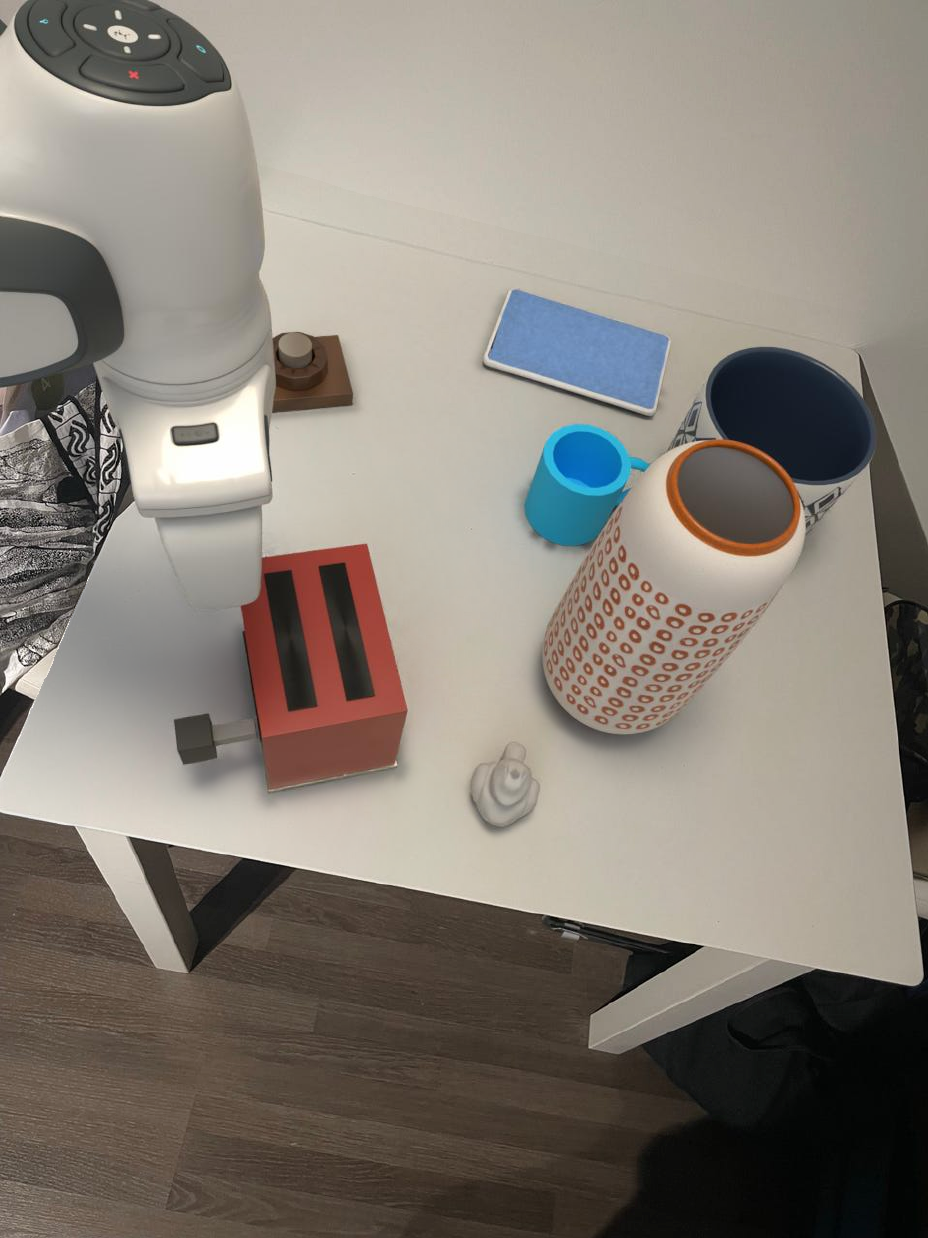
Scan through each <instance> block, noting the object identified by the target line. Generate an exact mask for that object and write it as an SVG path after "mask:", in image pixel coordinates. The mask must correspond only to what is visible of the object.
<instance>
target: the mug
mask: <svg viewBox="0 0 928 1238" xmlns="http://www.w3.org/2000/svg"><path fill="white" fill-rule="evenodd" d="M650 465H651V464H650V463H649V462H647V461H645V460H644V459H642V458H638V457H634V456H630V453H629V452H628V451H627V449H626V448H625V445H624V444H623V442H621V441H620V440H619V439H618V438H617V437H616V436H615V435H614V434H612V433H610V432H609V431H607V430H605V429H603V428H601V427H597V426H594V425H591V424H583V423H573V424H569V425H565V426H562V427H560V428H558V429H557V430H555V431H553V432H552V433H551V435H550V436H549V437H548V438H547V439H546V441H545V444H544V446H543V449H542V452H541V455H540V457H539V460H538V463H537V466H536V469H535V472H534V475H533V477H532V481H531V484H530V486H529V489H528V491H527V495H526V498H525V501H524V511H525V516H526V518H527V520H528V523H529V525H530V527H532V529H533V530H534V531H535V532H536V533H537V534H538V535H539V536H540V537H542V538H544V539H545V540H547V541H549V542H551V543H554V544H558V545H560V546H566V547H578V546H581V545H585V544H588V543H590V542H592V541H593V540H595V539H597V538H598V536H599V534H600V533H601V531H602V530H603V528H604V526H605V525H606V523H607V522H608V520H609V519H610V517H611V515H612V513H613V510H614V508H615V507H618V506H619V504H620V503H621V502H622V500H623V499H624V497H625V496H626V495H627V493H628V492H629V491H630V489H631V488H632V486H631V487H629V488H627V489H625V486H626V485H627V482H629V481H628V480H629V478H630V476H631V470H637V471H640V472H642V473H643V472H644V471H645V470H646V469H647V468H648V467H649V466H650ZM624 489H625V490H624Z"/></svg>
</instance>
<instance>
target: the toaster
mask: <svg viewBox="0 0 928 1238" xmlns="http://www.w3.org/2000/svg"><path fill="white" fill-rule="evenodd" d="M373 566H374V565H373V561H372V558H371V554H370V550H369V545H368V543H360V544H352V545H345V546H344V545H343V546H338V547H337V546H336V547H331V548H322V549H315V550H308V551H301V552H294V553H287V554H286V553H285V554H278V555H271V556H262V573H261V589H260V594H259V596H258V598H257V599H256V600H255V601H253V602H251V603H249V604H246V605H241V606H240V612H241V619H242V624H243V629H242V630H241V633H242V639H243V643H244V644H243V645H244V651H245V658H246V661H247V662H246V664H247V671H248V676H249V682H250V689H251V695H252V701H253V708H254V714H255V721H256V728H257V732H258V733H257V734H258V739H259V744H260V745H259V746H260V751H261V757H262V764H263V770H264V776H265V783H266V788H267V793H268V794H273V793H279V792H284V791H288V790H293V789H294V790H295V789H299V788H303V787H308V786H314V785H319V784H324V783H328V782H333V781H338V780H343V779H349V778H353V777H359V776H364V775H368V774H373V773H379V772H383V771H388V770H393V769H397V768H398V766H399V764H398V760H397V756H398V752H399V749H400V744H401V739H402V735H403V732H404V728H405V723H406V718H407V715H408V706H407V702H406V699H405V694H404V690H403V686H402V681H401V677H400V674H399V673H400V672H399V670H398V665H397V661H396V657H395V652H394V649H393V645H392V640H391V636H390V632H389V628H388V624H387V620H386V616H385V612H384V608H383V607H384V606H383V603H382V599H381V595H380V591H379V586H378V581H377V578H376V574H375V570H374V567H373Z"/></svg>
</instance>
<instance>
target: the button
mask: <svg viewBox="0 0 928 1238" xmlns="http://www.w3.org/2000/svg"><path fill="white" fill-rule="evenodd" d="M278 345H279V359H280V361H281V363H282V364H283V365H284V366H286V367H288V368H291V369H303V368H305V367H307V366H308V365H309V364H310V363H311V361H312V343H311V341H310V339H309V338H308V337H307V336H305V335H303V334H301V333H288V334H286V335H284V336H282V337H281V339H280V340H279V344H278Z"/></svg>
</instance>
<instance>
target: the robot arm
mask: <svg viewBox="0 0 928 1238" xmlns="http://www.w3.org/2000/svg"><path fill="white" fill-rule="evenodd" d="M11 18H12V19H10V22H9V23H8V25H7V24H6V23H5V22H4V21H3V20H2V19H1V18H0V389H1V388H8V387H13V386H18V385H19V386H20V385H23V384H27V383H31V382H34V381H37V380H41V379H45V378H49V377H52V376H56V375H60V374H62V373H63V374H64V373H66V372H70V371H73V370H77V369H79V368H83V367H86V366H89V365H92V364H93V367H94V370H95V373H96V376H97V380H98V383H99V386H100V389H101V393H102V395H103V398H104V401H105V403H106V406H107V409H108V411H109V412H108V413H109V415H110V417H111V419H112V421H113V423H114V425H115V428H116V429H117V431H118V434H119V436H120V440H121V444H122V448H123V453H124V460H125V464H126V469H127V475H128V479H129V480H128V481H129V484H130V487H131V490H132V495H133V499H134V500H133V501H134V503H135V505H136V509H137V511H138V513H139V514H140V515H141V517H143V518H147V519H149V518H150V519H154V521H155V525H156V527H157V532H158V534H159V537H160V540H161V544H162V546H163V548H164V551H165V554H166V556H167V559H168V561H169V563H170V566H171V568H172V571H173V573H174V575H175V577H176V580H177V582H178V585H179V586H180V588H181V591H182V592H183V595H184V597H185V599H186V601H187V602H188V603H189V605H190V606H191V607H193V608H194V609H196V610H200V611H212V610H213V611H214V610H223V609H231V608H236V607H241V605H246V604H249V603H251V602H253V601H255V600H256V599H257V598H258V596H259V594H260V589H261V573H262V558H263V505H268V504H270V503H271V502H272V500H273V498H274V495H273V493H274V492H273V485H272V482H273V473H272V472H273V471H272V464H271V455H270V442H271V440H270V427H271V421H272V416H273V412H272V410H273V399H274V394H275V388H276V376H275V362H274V349H273V338H274V337H273V327H272V326H273V325H272V312H271V305H270V304H271V303H270V300H269V297H268V294H267V291H266V289H265V287H264V284H263V282H262V279H261V277H260V271H261V268H262V265H263V262H264V256H265V250H266V235H265V222H264V221H265V220H264V210H263V199H262V191H261V183H260V176H259V168H258V162H257V161H258V160H257V155H256V150H255V144H254V139H253V134H252V130H251V129H252V128H251V125H250V121H249V117H248V113H247V109H246V106H245V105H246V104H245V102H244V99H243V96H242V93H241V90H240V88H239V85H238V84H237V81H236V79H235V77H234V74H233V73H232V71H231V69H230V68H229V66H228V64H227V63H226V61H225V59H224V58H223V56H222V55H221V54H220V51H218V49H217V48H216V47H215V45H214V44H213V43H212V42H211V41H210V40H209V39H208V38H207V37H206V36H205V35H204V34H203V33H202V32H200V31H199V29H197V28H196V27H195V26H194V25H192V24H191V23H189V22H188V21H186V20H185V19H183V18H182V17H180V16H179V15H177V14H175V13H174V12H172V11H170V10H168V9H166V8H164V7H162V6H161V5H160V4H159V3H156V2H153V1H151V0H26V1H25V2H23V4H21V5H20V6H19V7H18V9H17V10H16V11H15V13H14V14H13V17H11Z"/></svg>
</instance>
